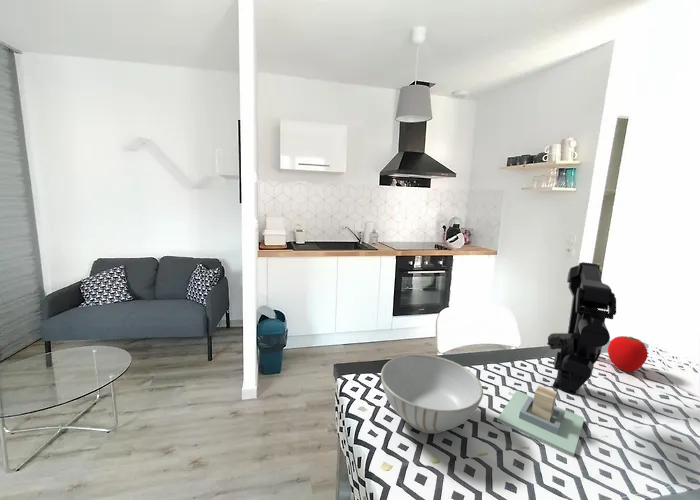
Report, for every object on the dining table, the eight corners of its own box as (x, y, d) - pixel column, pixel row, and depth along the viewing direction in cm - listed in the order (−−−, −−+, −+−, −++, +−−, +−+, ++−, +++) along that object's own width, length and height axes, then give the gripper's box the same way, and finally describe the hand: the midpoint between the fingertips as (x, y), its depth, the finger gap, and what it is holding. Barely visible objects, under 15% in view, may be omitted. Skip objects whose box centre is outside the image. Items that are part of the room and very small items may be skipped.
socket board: (516, 393, 107) (517, 384, 106) (583, 420, 95) (585, 411, 95) (497, 421, 93) (498, 411, 93) (573, 457, 82) (575, 446, 81)
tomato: (610, 372, 122) (617, 339, 120) (601, 359, 132) (607, 328, 129) (648, 380, 118) (657, 346, 115) (636, 366, 128) (644, 334, 125)
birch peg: (534, 410, 97) (538, 385, 96) (552, 417, 94) (556, 392, 93) (530, 417, 94) (534, 392, 92) (548, 425, 91) (553, 399, 89)
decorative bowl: (401, 465, 77) (406, 418, 75) (365, 394, 102) (368, 358, 100) (500, 445, 84) (506, 402, 82) (443, 384, 110) (447, 350, 107)
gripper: (561, 313, 101) (552, 360, 105) (544, 331, 88) (535, 385, 91) (606, 325, 94) (596, 375, 97) (596, 347, 81) (584, 404, 84)
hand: (577, 383), depth 92 cm, fingers open, 9 cm apart
